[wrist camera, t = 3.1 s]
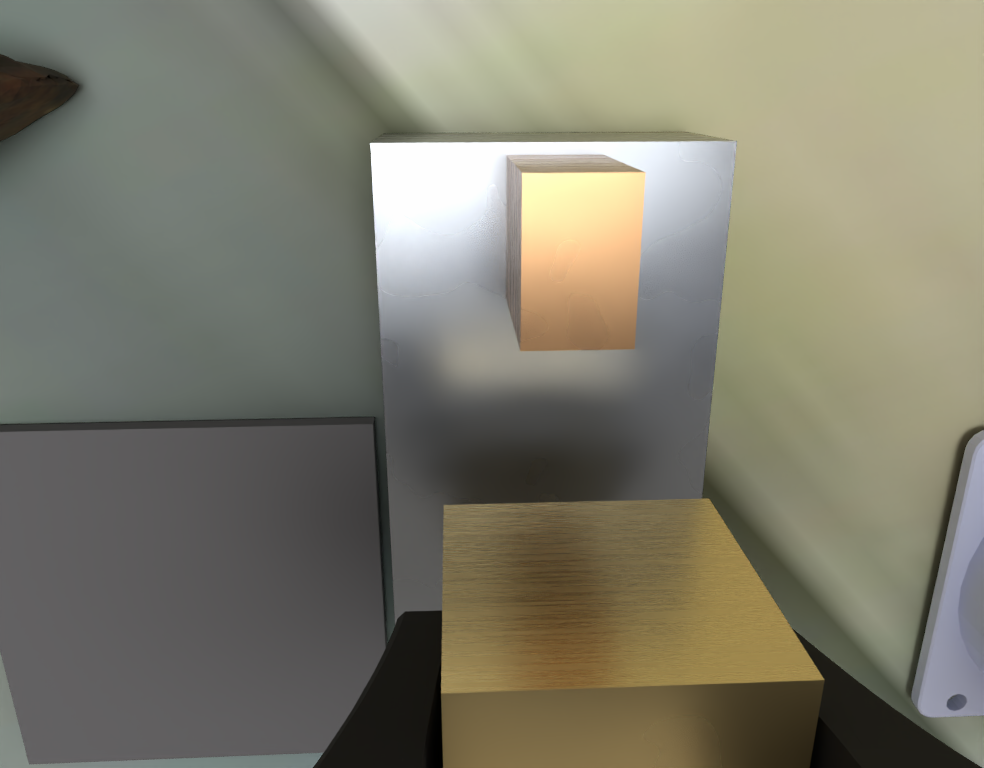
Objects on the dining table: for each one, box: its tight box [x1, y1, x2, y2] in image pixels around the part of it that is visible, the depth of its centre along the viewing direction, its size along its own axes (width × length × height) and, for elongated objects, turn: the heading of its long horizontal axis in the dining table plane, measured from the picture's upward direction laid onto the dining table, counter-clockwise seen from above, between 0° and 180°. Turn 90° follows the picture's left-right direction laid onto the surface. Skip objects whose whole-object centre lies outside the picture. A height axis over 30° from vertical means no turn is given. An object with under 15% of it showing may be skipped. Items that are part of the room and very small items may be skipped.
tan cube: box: [441, 499, 824, 768], centre depth 11 cm, size 4×4×4 cm
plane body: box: [370, 132, 737, 625], centre depth 15 cm, size 6×12×6 cm, turn 0°
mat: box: [0, 417, 387, 764], centre depth 19 cm, size 9×9×1 cm
